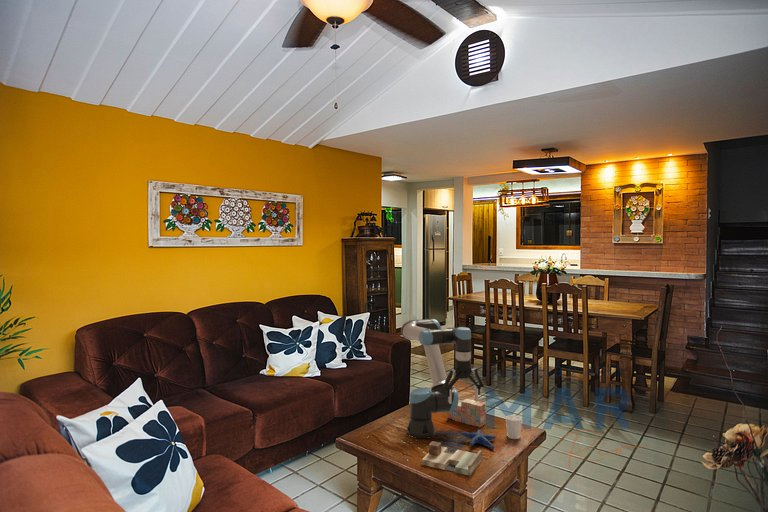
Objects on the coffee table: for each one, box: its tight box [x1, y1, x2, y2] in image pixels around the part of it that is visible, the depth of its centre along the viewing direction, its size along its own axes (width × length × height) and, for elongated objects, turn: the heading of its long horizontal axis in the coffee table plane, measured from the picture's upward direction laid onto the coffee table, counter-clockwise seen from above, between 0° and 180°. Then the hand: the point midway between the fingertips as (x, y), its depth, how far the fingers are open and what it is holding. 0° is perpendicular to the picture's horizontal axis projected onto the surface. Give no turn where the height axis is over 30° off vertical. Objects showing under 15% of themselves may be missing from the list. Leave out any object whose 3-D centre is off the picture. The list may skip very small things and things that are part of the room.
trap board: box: [421, 445, 483, 477], centre depth 212 cm, size 23×17×4 cm
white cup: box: [505, 414, 522, 440], centre depth 240 cm, size 8×8×10 cm
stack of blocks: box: [447, 398, 487, 428], centre depth 262 cm, size 21×6×12 cm, turn 50°
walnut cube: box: [428, 440, 442, 456], centre depth 217 cm, size 4×4×4 cm
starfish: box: [461, 429, 497, 451], centre depth 232 cm, size 19×19×5 cm
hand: (463, 402), depth 226 cm, fingers open, 13 cm apart
